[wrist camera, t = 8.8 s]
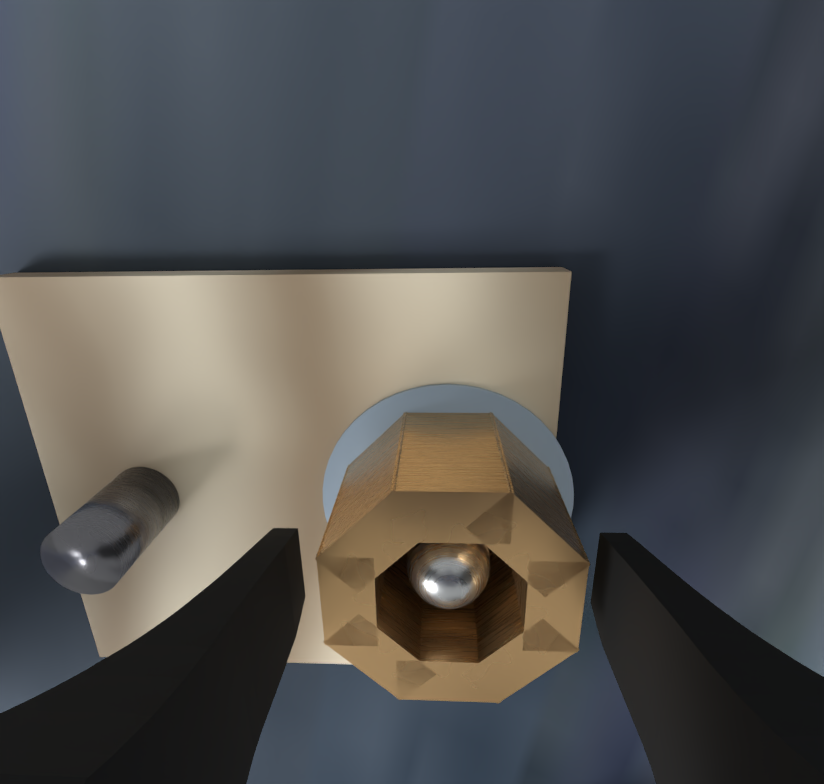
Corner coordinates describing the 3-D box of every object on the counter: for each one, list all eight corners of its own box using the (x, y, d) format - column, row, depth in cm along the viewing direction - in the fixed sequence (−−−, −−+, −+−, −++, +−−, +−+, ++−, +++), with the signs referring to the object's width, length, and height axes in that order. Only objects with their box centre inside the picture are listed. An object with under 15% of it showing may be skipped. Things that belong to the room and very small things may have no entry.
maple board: (116, 634, 19) (99, 656, 18) (14, 272, 14) (-15, 277, 13) (529, 645, 18) (535, 669, 17) (562, 267, 13) (571, 271, 12)
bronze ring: (354, 580, 16) (328, 697, 12) (343, 411, 14) (308, 488, 10) (539, 584, 15) (572, 705, 12) (555, 412, 13) (599, 492, 10)
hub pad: (332, 595, 16) (331, 600, 16) (314, 383, 14) (312, 386, 14) (560, 600, 16) (562, 605, 16) (584, 383, 13) (586, 386, 13)
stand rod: (121, 523, 16) (52, 593, 13) (106, 466, 15) (30, 526, 12) (184, 524, 16) (128, 595, 13) (173, 466, 15) (111, 528, 12)
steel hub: (412, 528, 15) (405, 627, 12) (411, 469, 14) (403, 555, 11) (479, 529, 15) (492, 629, 12) (482, 469, 14) (496, 557, 11)
